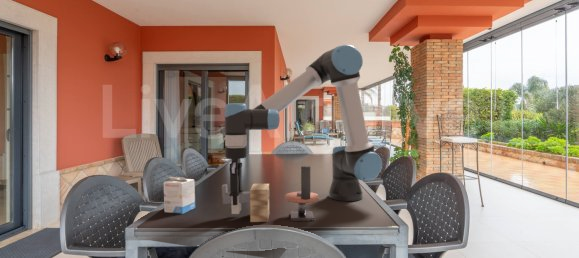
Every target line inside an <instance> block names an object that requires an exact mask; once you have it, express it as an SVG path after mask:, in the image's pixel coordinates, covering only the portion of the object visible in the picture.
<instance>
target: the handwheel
mask: <svg viewBox="0 0 579 258" xmlns="http://www.w3.org/2000/svg"><path fill="white" fill-rule="evenodd" d="M300 184H301V185H300V191H292V192H288V193H286V194H285V195H284V197H285V198H284V199H285V201H287V202H290V203H293V204H295V203H296V204H298V203H306V204H311V203H315V202H318V201H319V199H320V197H319V194H318V193H316V192H311V166H310V165H302V166H300Z"/></svg>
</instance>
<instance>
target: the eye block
mask: <svg viewBox="0 0 579 258" xmlns="http://www.w3.org/2000/svg"><path fill="white" fill-rule="evenodd" d="M249 191H250V202H249V204H250V205H249V209H250V213H249V216H250V218H249V219H250V223H268V222H269V218H270V217H269V216H270V199H269V200H268V196H269V197H270V183H253V184H252V185H251V186H250V189H249Z"/></svg>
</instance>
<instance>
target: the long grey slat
mask: <svg viewBox="0 0 579 258" xmlns="http://www.w3.org/2000/svg"><path fill="white" fill-rule="evenodd" d="M229 194H230V192H229V188H228V184H227V183H224V184H222V185H221V196H222V197H221V198H222V204H223V205H229V204H231V196H229ZM268 200H269V201H270V195H269V196H268ZM239 203H241V204H244V203H250V190H248V191H243V192H239Z"/></svg>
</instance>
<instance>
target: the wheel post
mask: <svg viewBox="0 0 579 258" xmlns="http://www.w3.org/2000/svg"><path fill="white" fill-rule="evenodd" d="M314 216H315V215H314V214H313V211H312V210H307V203H297V210H296V211H295V210H291V211H290V221H291V222H304V221H305V222H308V221H309V222H310V220H312V221H313V220H314V221H315V217H314ZM312 221H311V222H312ZM314 221H313V222H314Z"/></svg>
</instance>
